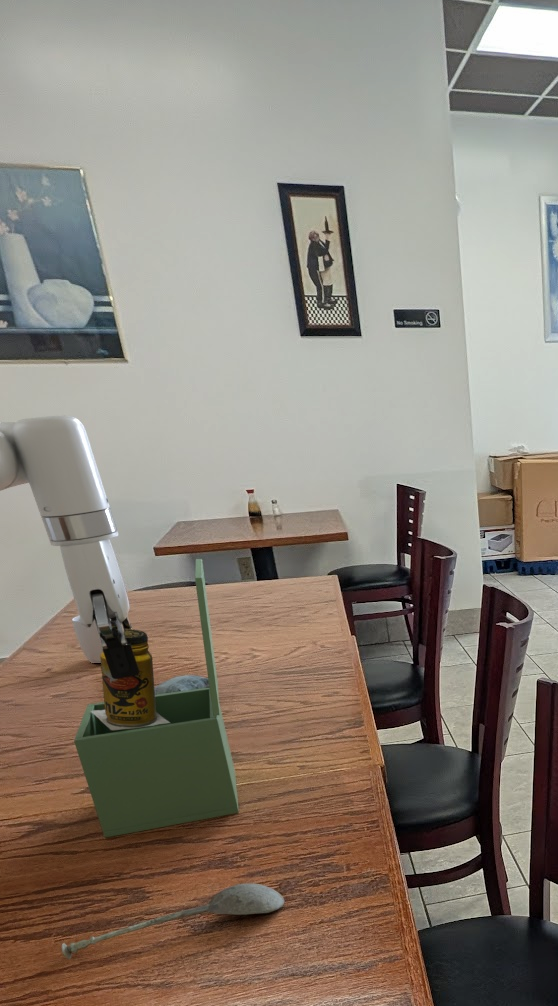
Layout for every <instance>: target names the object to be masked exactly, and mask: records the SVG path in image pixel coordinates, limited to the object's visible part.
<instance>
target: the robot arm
mask: <svg viewBox="0 0 558 1006" xmlns="http://www.w3.org/2000/svg"><path fill="white" fill-rule="evenodd" d="M26 484H29V486H30V489H31V492H32V495H33V497H34V498H33V499H34V500H35V503H36V506H37V509H38V512H39V515H40V517H41V521H42V523H43V526H44V529H45V532H46V535H47V537H48V540H49V543H50V545H51V546H53V547H59V548H60V553H61V558H62V562H63V565H64V570H65V573H66V576H67V581H68V583H69V586H70V590H71V593H72V596H73V599H74V603H75V606H76V609H77V612H78V616H80V619H81V622H82V625H83V626H85V627H87V628H89V627H91V625H92V623H93V621H94V619H95V622H96V626H97V629H98V633H99V637H100V640H101V644H102V647H103V652H104V655H105V658H106V661H107V664H108V667H109V670H110V673H111V675H112V678H114V679H119V678H125V677H130V676H136V675H138V674H139V668H138V665H137V662H136V659H135V656H134V653H133V650H132V647H131V644H128V643H127V639H126V636H125V632H124V629H133V626H132V624H131V621H130V618H129V616H128V615H129V611H130V609H131V608H130V607H131V605H130V600H129V598H128V593H127V589H126V585H125V582H124V579H123V576H122V572H121V569H120V566H119V562H118V560H117V556H116V554H115V550H114V548H113V545H112V542H111V540H112V539H114V538H117V537H119V535H120V534H119V531H118V529H117V525H116V521H115V518H114V516H113V512H112V509H111V507H110V506H111V505H110V503H109V499H108V497H107V494H106V491H105V487H104V484H103V480H102V477H101V474H100V471H99V468H98V465H97V461H96V458H95V455H94V451H93V449H92V446H91V442H90V439H89V436H88V433H87V431H86V427H85V426H84V424H83V423H82V422H81V420H79V418H77V417H75V416H72V415H65V414H63V415H48V416H37V417H29V418H22V419H19V420H17V421H0V492H1V491H4V490H7V489H10V488H13V487H17V486H20V485H21V486H22V485H26ZM110 619H111V621H110ZM116 629H118V630H116ZM118 632H119V633H118Z"/></svg>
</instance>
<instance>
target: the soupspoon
mask: <svg viewBox="0 0 558 1006" xmlns="http://www.w3.org/2000/svg"><path fill="white" fill-rule="evenodd" d="M285 901H286V900H285V898H284V896H283V895H282V894H281V893H280V892H278V891H277V890H275V889H274V888H272V887H269V886H268V885H265V884H259V883H251V882H249V883H248V882H246V883H238V884H237V883H236V884H234V885H231V886H228V887H226V888H224V889H222V890H221V891H219V892H218V893H216V894H215V895H214V896H213V897H212V899H210V900H209V902H208V904H206V905H202V906H197V907H193V908H188V909H185V910H179V911H177V912H173V913H169V914H166V915H162V916H159V917H156V918H153V919H149V920H146V921H143V922H140V923H137V924H133V925H129V926H127V927H123V928H120V929H117V930H114V931H111V932H107V933H105V934H102V935H98V936H96V937H94V936H93V935H92V936H90V938H89V939H81V940H79V941H77V942H76V943H75V942H70V944H69V946H68V945H67V944H66V943H65V942H63V943H62V944H61V951H62V954H63V956H64V957H65V958H66V959H67V960H70V959H71V958H72V953H73V954H77V953H78V951H81V950H83V949H86V948H87V949H88V947H89V946H91V945H93V946H94V945H96V944H97V943H99V942H103V941H105V940H108V939H112V938H115V937H118V936H121V935H122V936H123V935H125V934H129V933H132V932H135V931H138V930H143V929H146V928H150V927H152V926H156V925H159V924H162V923H163V924H164V923H167V922H169V921H170V922H171V921H172V920H173V921H174V920H177V919H178V920H179V919H182V918H186V917H190V916H195V915H201V914H205V913H212V914H214V915H215V914H216V915H217V914H218V915H234V916H237V915H238V916H239V915H242V916H243V915H254V914H270V913H272V912H274V911H277V910H279V909H281V908H283V906H284V904H285Z"/></svg>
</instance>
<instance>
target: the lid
mask: <svg viewBox="0 0 558 1006" xmlns="http://www.w3.org/2000/svg"><path fill="white" fill-rule="evenodd" d="M194 568H195V570H194V583H195V588H196V596H197V597H196V598H197V604H198V611H199V619H200V627H201V635H202V643H203V650H204V656H205V665H206V672H207V678H208V680H209V688H210V695H211V703H212V711H213V716H216V715H220V711H219V704H220V696H219V681H218V673H217V665H216V659H215V651H214V642H213V634H212V626H211V619H210V610H209V604H208V603H209V602H208V596H207V587H206V580H205V571H204V564H203V558H195V567H194Z"/></svg>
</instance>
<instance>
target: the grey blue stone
mask: <svg viewBox="0 0 558 1006" xmlns="http://www.w3.org/2000/svg"><path fill="white" fill-rule="evenodd" d="M201 688H209V680H208V677H204V676H200V675H197V674H196V675H195V674H194V675H193V674H185V675H179V676H174V677H172V678H170V679H167V680H165V681H163V682H160V683H159V684H157V685H156V686H154V690H155V695H158V694H165V693H173V692H180V691H187V690H194V689H201Z"/></svg>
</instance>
